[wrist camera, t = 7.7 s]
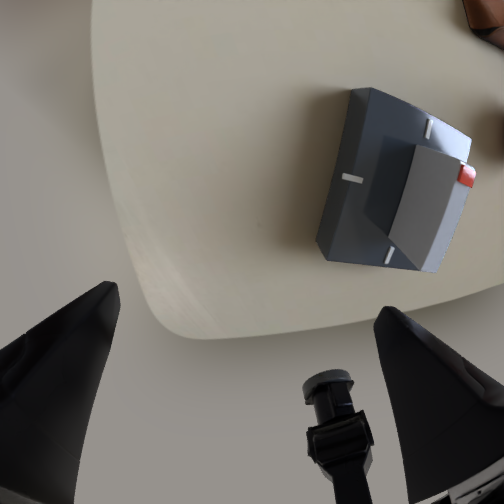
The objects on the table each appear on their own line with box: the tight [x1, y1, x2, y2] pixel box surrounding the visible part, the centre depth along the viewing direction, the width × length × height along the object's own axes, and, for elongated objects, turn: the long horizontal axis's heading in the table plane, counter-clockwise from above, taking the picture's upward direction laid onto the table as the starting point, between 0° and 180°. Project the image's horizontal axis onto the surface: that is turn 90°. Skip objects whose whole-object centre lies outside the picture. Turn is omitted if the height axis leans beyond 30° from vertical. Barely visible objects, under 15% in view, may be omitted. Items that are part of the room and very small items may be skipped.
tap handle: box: [388, 145, 476, 273], centre depth 14 cm, size 7×2×5 cm, turn 171°
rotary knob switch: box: [316, 87, 472, 271], centre depth 17 cm, size 12×11×3 cm
